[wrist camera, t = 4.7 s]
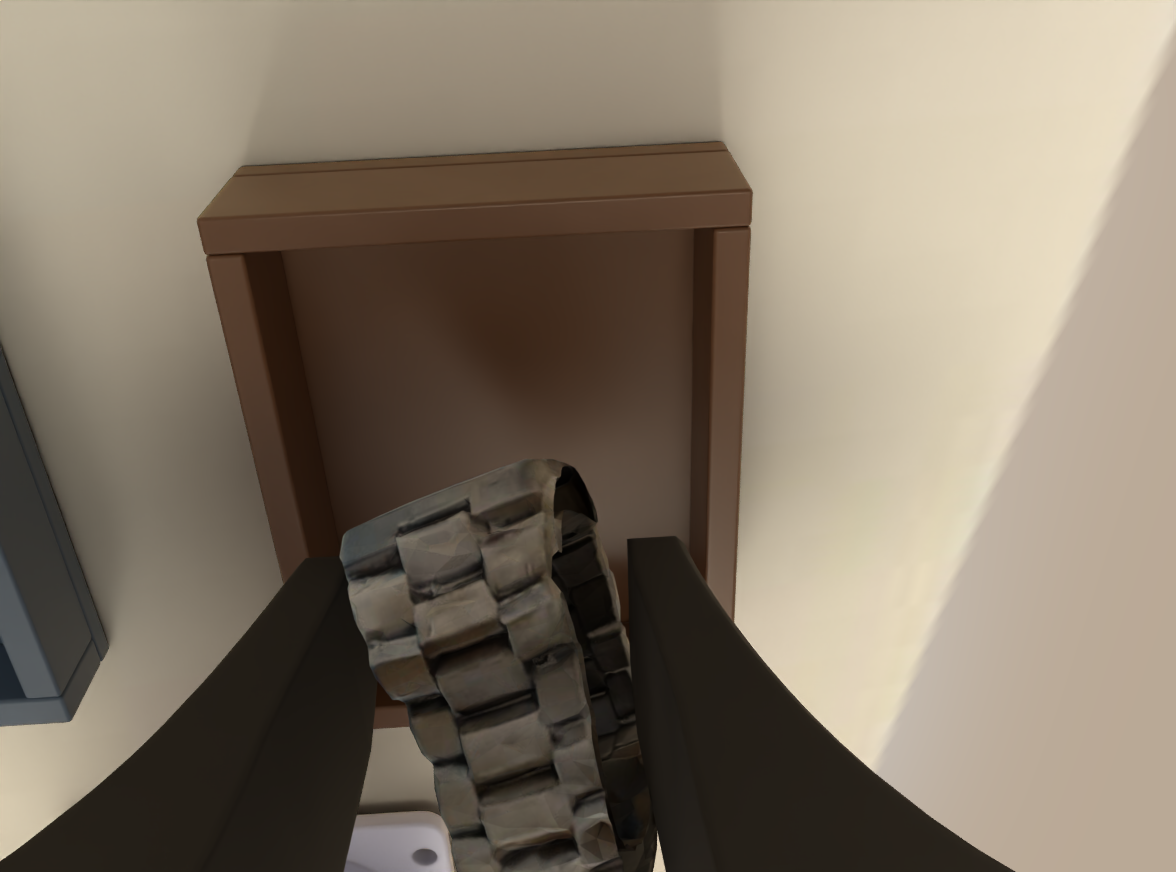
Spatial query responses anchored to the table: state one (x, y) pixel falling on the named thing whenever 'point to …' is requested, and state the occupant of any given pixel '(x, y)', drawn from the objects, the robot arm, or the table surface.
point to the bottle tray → (38, 586)
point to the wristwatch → (510, 668)
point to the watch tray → (492, 338)
